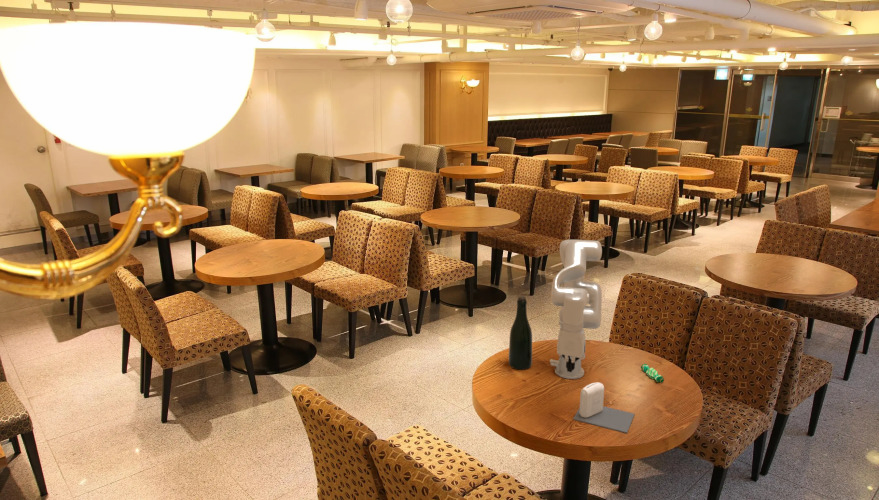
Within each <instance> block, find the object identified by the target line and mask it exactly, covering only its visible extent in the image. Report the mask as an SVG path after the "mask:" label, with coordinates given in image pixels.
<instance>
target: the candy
mask: <svg viewBox="0 0 879 500" xmlns="http://www.w3.org/2000/svg"><path fill="white" fill-rule="evenodd" d="M640 370H641V371H642V372H643V373H646V375H647V377H649V378H650V379H651V380H655V381H656V383H657V384H658V383H659V382H660V383H663V382H664V381H665V378H664V376H663V375H661V374H659V372H658V370H656V369H655V368H654V367H650V366H649V365H648V364H647V363H643V364H642V365H641V366H640Z"/></svg>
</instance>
